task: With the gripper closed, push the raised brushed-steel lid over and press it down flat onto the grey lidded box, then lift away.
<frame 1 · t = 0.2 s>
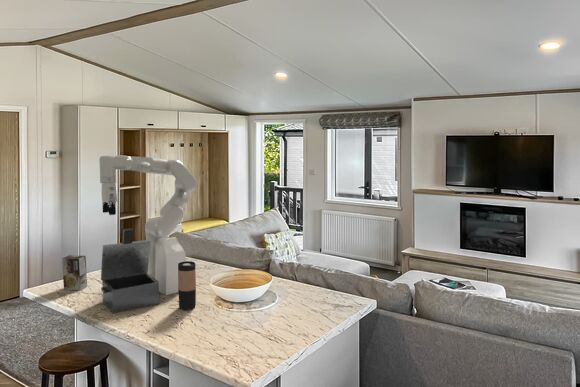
hand: (109, 213, 229), 37 cm above the kitchen island, tool pointing down, fingers open, 9 cm apart
travel mug: (187, 307, 199), on the kitchen island
grey lidded box: (130, 302, 204), on the kitchen island
coffee box: (75, 288, 224), on the kitchen island
milk: (171, 289, 224), on the kitchen island
lid: (126, 253, 206), point 22 cm above the kitchen island, hinge at 70.0°
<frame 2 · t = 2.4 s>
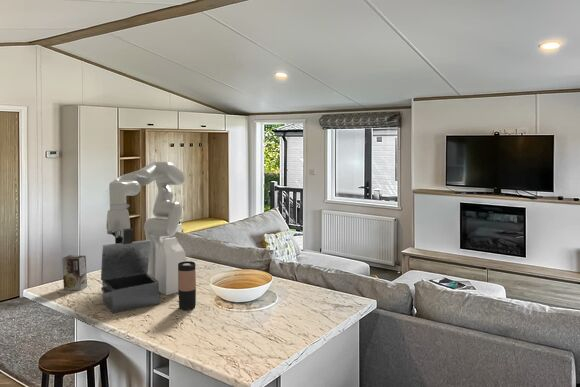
hand: (119, 245, 215), 24 cm above the kitchen island, tool pointing down, fingers closed
nothing on the kitchen island moved.
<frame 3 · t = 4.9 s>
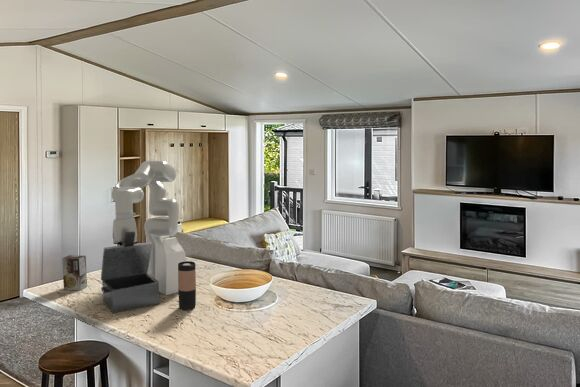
hand: (125, 255, 207), 21 cm above the kitchen island, tool pointing down, fingers closed
lid: (127, 254, 205), point 21 cm above the kitchen island, hinge at 63.2°, touching gripper
everything else where it was.
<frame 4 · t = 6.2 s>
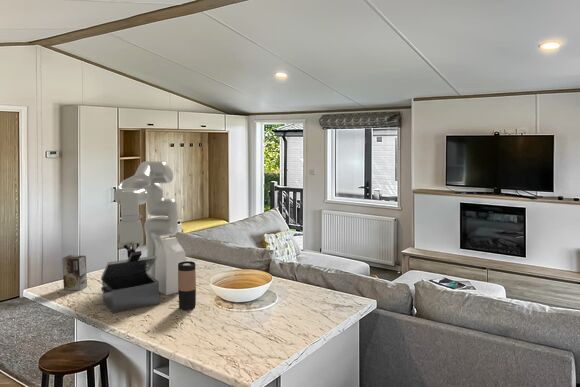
hand: (131, 258, 200), 21 cm above the kitchen island, tool pointing down, fingers closed
lid: (130, 264, 202), point 18 cm above the kitchen island, hinge at 36.2°
everything else where it was.
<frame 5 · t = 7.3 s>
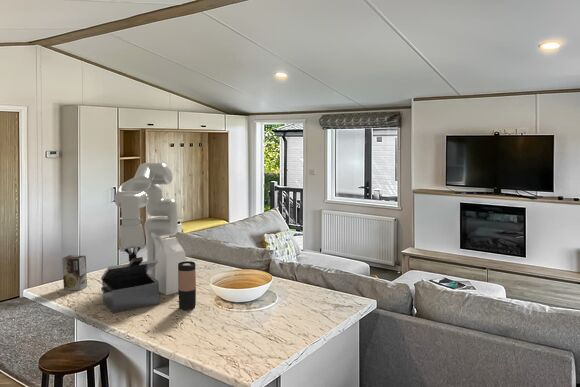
hand: (132, 262, 198), 20 cm above the kitchen island, tool pointing down, fingers closed
lid: (131, 267, 201), point 17 cm above the kitchen island, hinge at 29.6°, touching gripper
everything else where it was.
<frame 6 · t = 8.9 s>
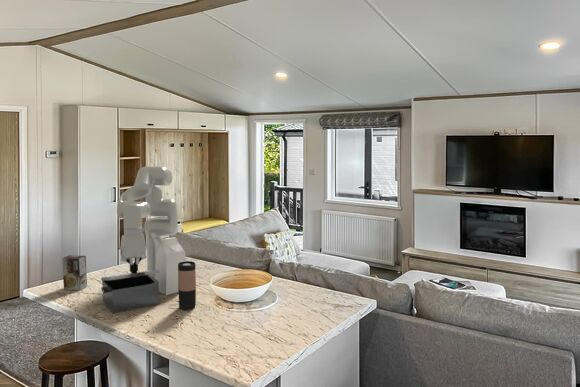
hand: (133, 272, 197), 16 cm above the kitchen island, tool pointing down, fingers closed
lid: (132, 274, 200), point 14 cm above the kitchen island, hinge at 14.5°, touching gripper
everything else where it was.
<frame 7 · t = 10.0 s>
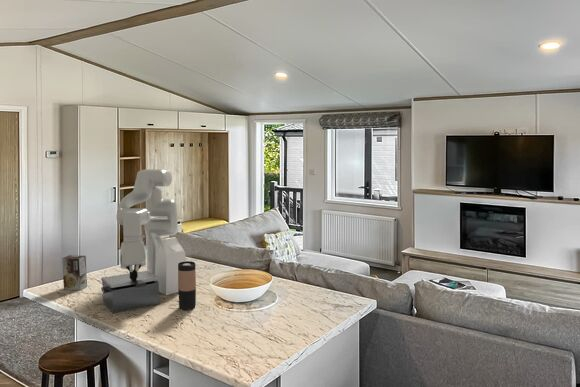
hand: (133, 279, 198), 12 cm above the kitchen island, tool pointing down, fingers closed
lid: (132, 279, 200), point 12 cm above the kitchen island, hinge at 4.2°, touching gripper
everything else where it was.
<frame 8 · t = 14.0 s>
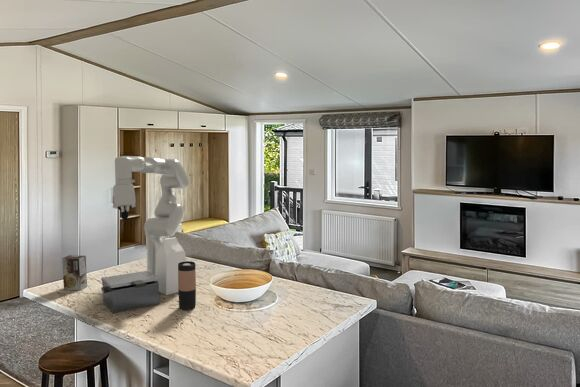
hand: (124, 219, 220), 35 cm above the kitchen island, tool pointing down, fingers closed
lid: (132, 279, 200), point 12 cm above the kitchen island, hinge at 4.0°, touching grey lidded box
everything else where it was.
at the end: lid at +4° (first picture: +70°); milk moved 0.3 cm from its start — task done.
